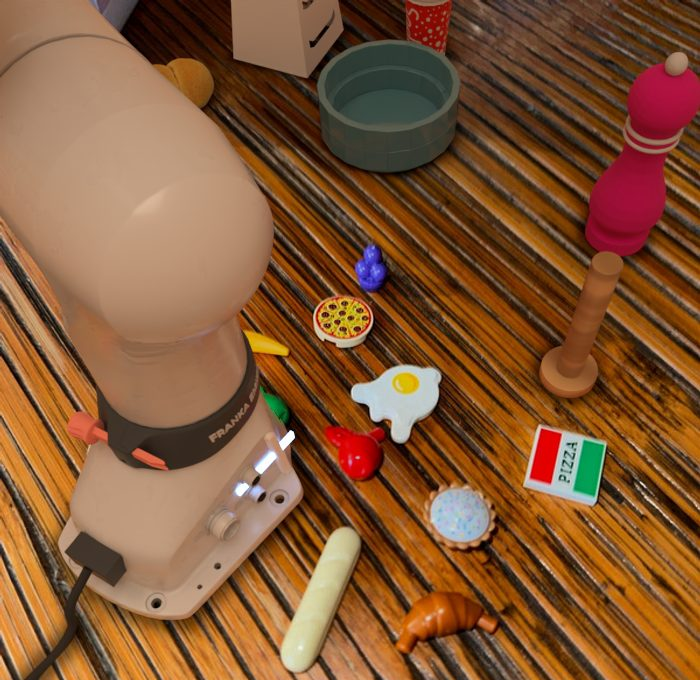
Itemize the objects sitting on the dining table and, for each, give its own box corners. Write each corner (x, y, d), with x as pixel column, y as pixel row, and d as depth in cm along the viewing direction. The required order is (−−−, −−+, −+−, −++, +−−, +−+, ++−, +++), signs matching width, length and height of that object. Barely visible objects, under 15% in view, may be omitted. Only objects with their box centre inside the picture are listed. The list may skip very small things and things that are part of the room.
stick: (583, 406, 70) (629, 297, 57) (530, 385, 71) (563, 274, 58) (603, 365, 72) (651, 251, 59) (551, 345, 73) (587, 229, 60)
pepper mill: (649, 265, 78) (727, 86, 60) (577, 256, 78) (633, 78, 61) (651, 214, 81) (725, 30, 63) (581, 206, 82) (635, 23, 64)
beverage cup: (398, 45, 96) (399, -77, 84) (446, 40, 96) (455, -83, 84) (405, 75, 93) (408, -46, 81) (454, 70, 93) (465, -52, 81)
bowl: (418, 194, 84) (420, 148, 78) (297, 151, 88) (291, 105, 82) (477, 109, 90) (483, 62, 85) (361, 73, 94) (359, 26, 89)
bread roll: (222, 107, 92) (216, 77, 89) (150, 126, 91) (141, 96, 87) (205, 67, 96) (198, 36, 92) (136, 85, 95) (126, 55, 91)
